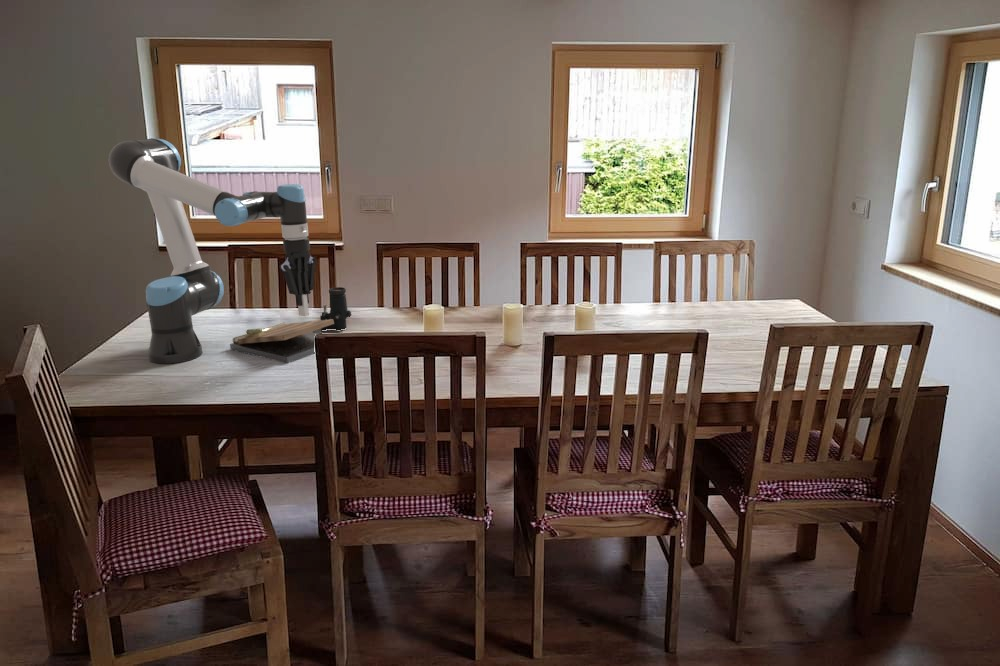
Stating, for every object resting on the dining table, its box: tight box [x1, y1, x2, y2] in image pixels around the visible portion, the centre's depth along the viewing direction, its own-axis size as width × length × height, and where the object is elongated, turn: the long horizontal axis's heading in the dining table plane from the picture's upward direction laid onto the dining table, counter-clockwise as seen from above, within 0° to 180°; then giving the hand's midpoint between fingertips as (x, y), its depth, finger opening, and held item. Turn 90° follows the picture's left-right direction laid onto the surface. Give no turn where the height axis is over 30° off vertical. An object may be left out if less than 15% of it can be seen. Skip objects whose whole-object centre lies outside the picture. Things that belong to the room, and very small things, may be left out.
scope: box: [319, 286, 352, 331], centre depth 265 cm, size 8×14×10 cm
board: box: [238, 319, 334, 344], centre depth 247 cm, size 22×20×4 cm
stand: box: [229, 322, 319, 364], centre depth 249 cm, size 26×22×4 cm
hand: (304, 315), depth 241 cm, fingers closed
